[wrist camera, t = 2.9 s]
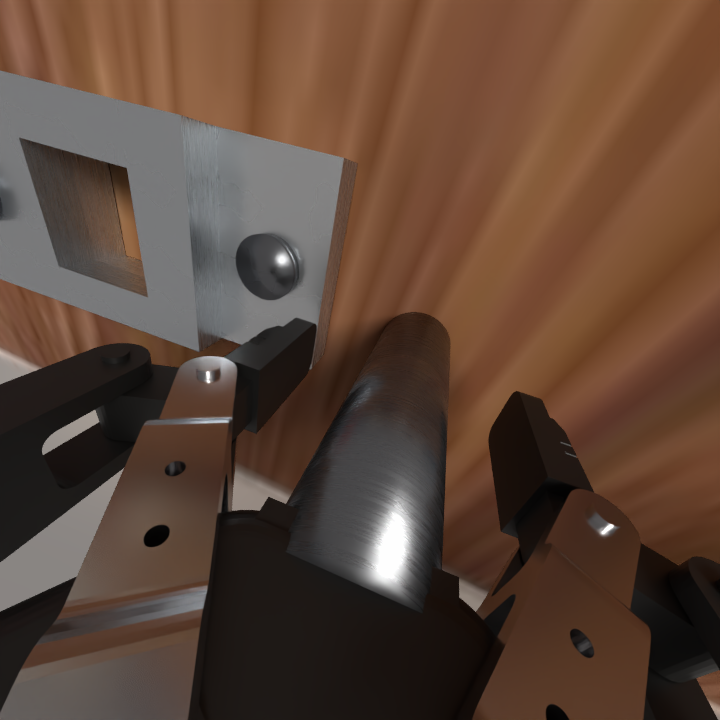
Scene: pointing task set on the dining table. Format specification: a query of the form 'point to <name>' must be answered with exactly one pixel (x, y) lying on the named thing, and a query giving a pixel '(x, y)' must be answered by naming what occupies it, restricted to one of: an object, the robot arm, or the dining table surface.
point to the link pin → (383, 469)
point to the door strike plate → (167, 217)
